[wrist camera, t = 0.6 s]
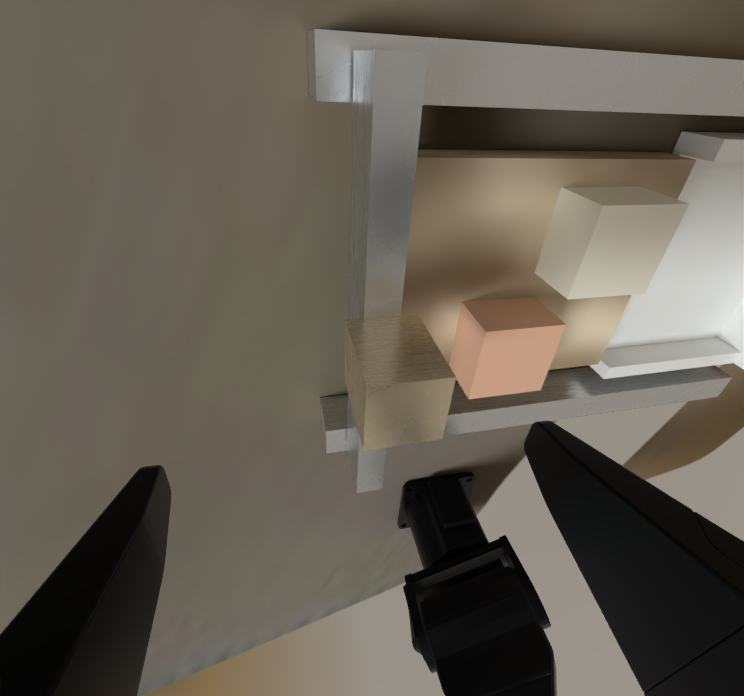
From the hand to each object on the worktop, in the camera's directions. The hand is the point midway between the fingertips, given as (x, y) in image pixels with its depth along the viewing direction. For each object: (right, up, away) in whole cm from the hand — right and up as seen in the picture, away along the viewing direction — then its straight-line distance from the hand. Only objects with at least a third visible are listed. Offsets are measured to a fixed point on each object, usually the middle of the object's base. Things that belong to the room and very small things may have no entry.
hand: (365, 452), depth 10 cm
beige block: (+11, +9, +11) cm, 18 cm away
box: (+22, +8, +17) cm, 29 cm away
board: (+8, +7, +14) cm, 18 cm away
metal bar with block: (0, +4, +10) cm, 11 cm away
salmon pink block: (+7, +3, +14) cm, 16 cm away
